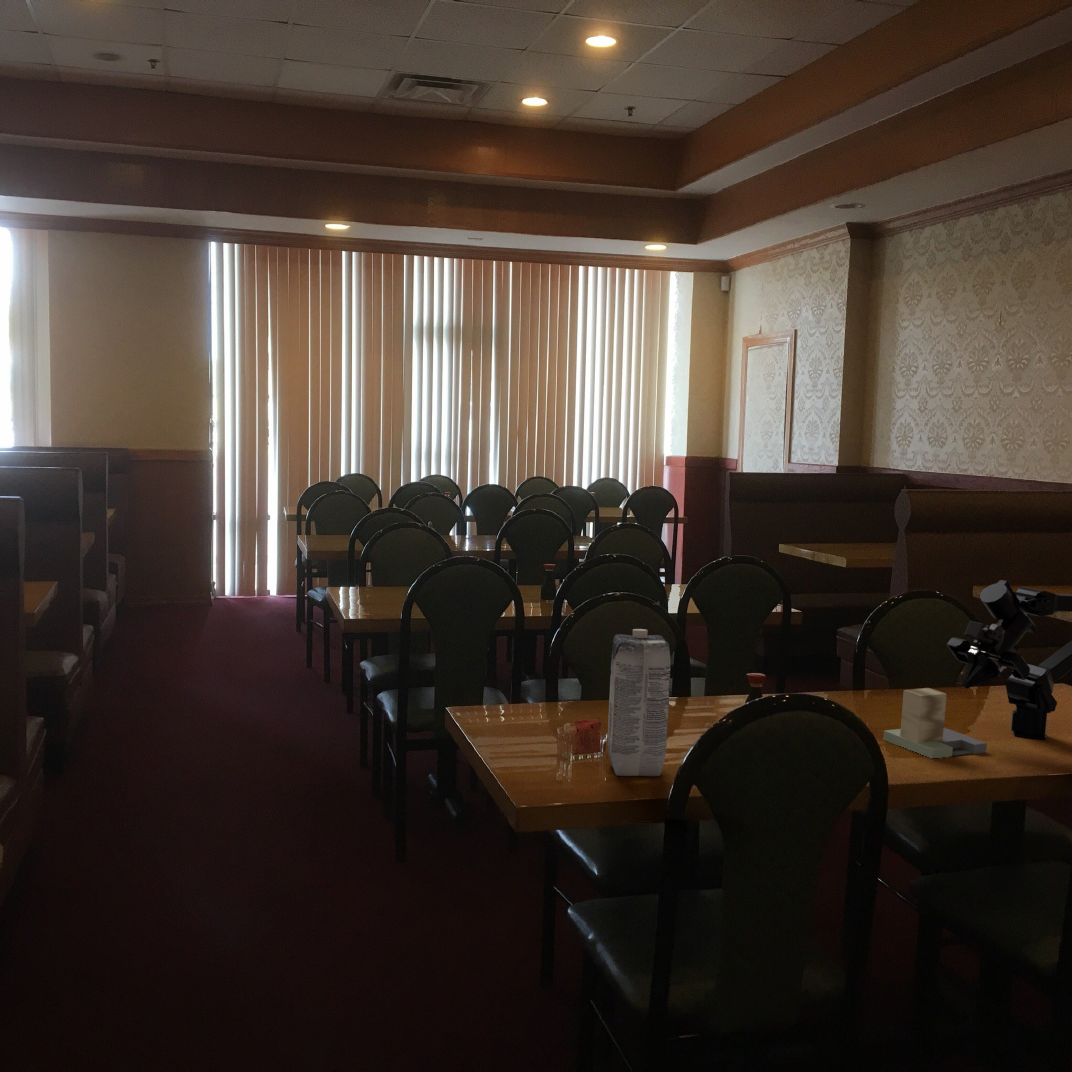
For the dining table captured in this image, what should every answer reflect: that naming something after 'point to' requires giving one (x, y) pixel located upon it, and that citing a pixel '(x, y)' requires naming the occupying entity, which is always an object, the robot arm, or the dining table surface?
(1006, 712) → the dining table surface
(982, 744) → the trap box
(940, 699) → the maple block
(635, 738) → the juice carton
